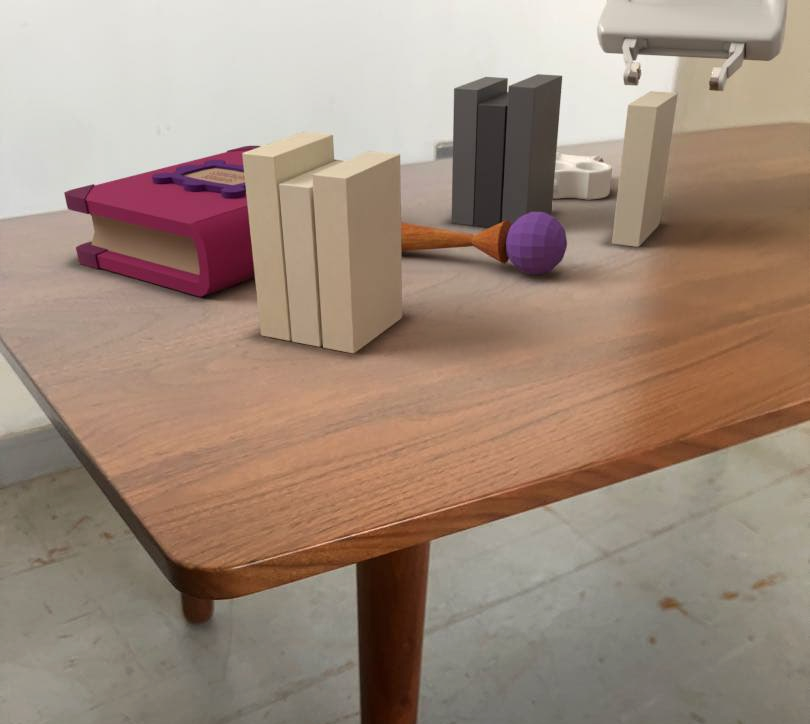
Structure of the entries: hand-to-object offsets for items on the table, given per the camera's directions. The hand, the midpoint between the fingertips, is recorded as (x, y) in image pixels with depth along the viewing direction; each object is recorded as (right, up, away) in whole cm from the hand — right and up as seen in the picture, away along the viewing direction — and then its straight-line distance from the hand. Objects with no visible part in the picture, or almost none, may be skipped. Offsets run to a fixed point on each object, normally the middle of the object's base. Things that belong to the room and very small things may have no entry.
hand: (672, 84), depth 101 cm
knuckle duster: (-11, -3, +21) cm, 24 cm away
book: (-48, -18, 0) cm, 51 cm away
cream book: (-3, -16, +2) cm, 16 cm away
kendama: (-23, -22, -5) cm, 32 cm away
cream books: (-36, -31, -20) cm, 51 cm away
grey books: (-18, -12, +8) cm, 23 cm away
